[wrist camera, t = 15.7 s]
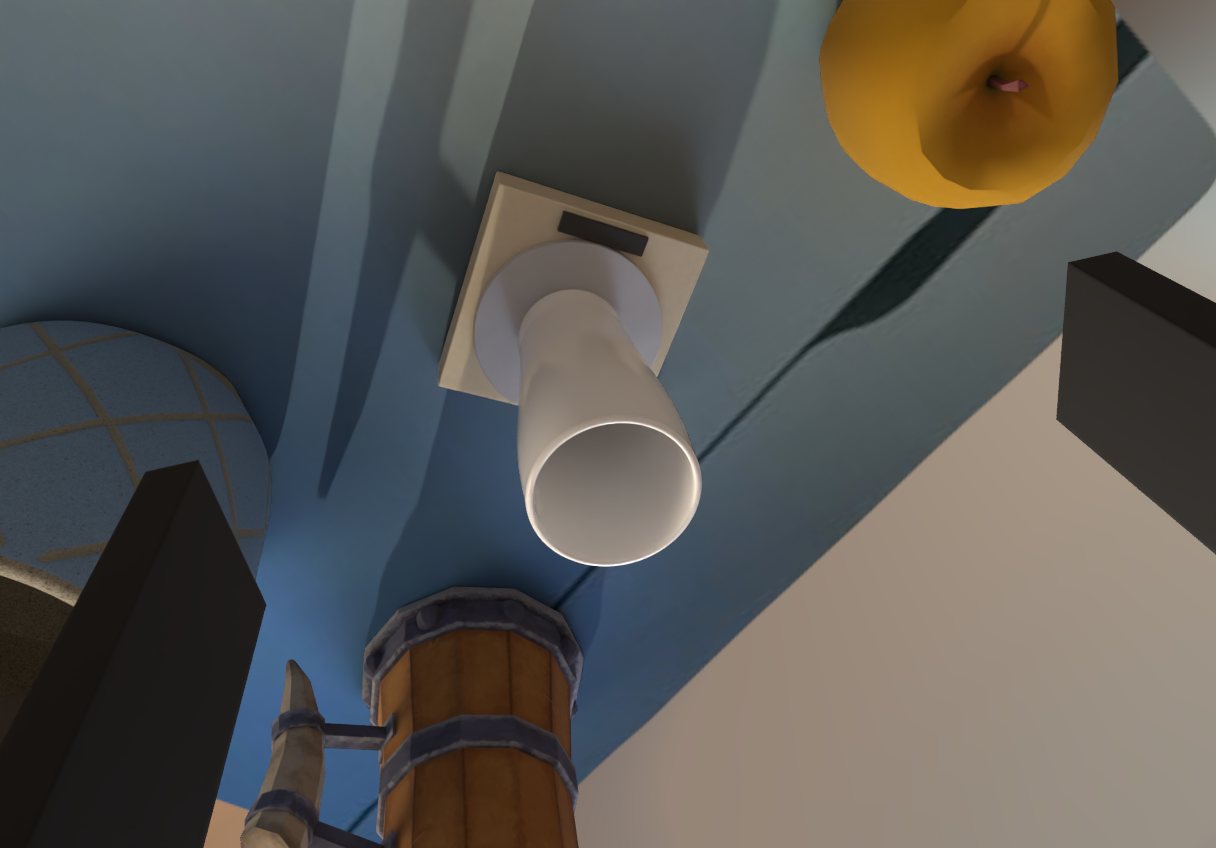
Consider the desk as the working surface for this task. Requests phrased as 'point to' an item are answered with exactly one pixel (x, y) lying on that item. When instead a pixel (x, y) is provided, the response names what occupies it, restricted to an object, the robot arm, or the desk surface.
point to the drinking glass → (598, 437)
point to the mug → (441, 732)
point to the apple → (968, 93)
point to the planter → (102, 463)
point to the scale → (562, 279)
